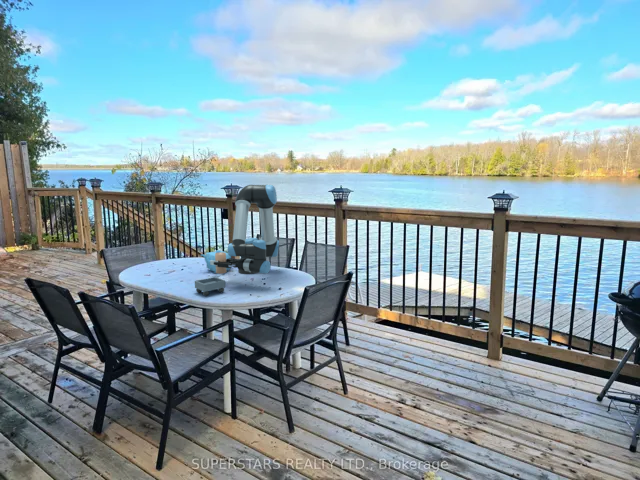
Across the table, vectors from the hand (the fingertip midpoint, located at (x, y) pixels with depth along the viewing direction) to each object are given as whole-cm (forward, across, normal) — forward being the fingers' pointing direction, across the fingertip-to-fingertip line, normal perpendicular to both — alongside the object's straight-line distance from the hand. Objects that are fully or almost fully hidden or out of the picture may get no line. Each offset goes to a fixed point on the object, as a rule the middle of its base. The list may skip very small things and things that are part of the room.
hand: (214, 261), depth 246 cm
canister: (-5, 0, -7) cm, 8 cm away
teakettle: (+15, +25, -14) cm, 32 cm away
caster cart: (-11, -20, -13) cm, 26 cm away
